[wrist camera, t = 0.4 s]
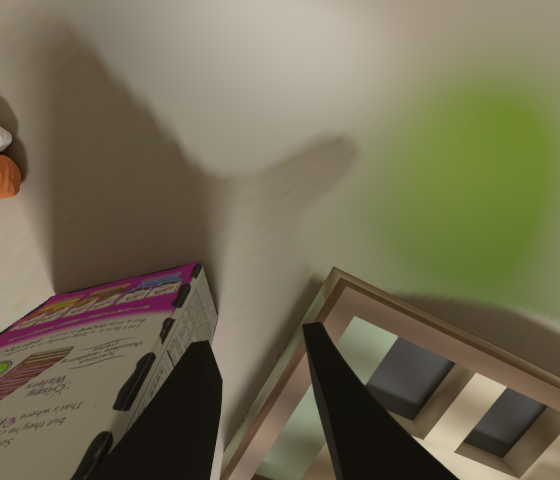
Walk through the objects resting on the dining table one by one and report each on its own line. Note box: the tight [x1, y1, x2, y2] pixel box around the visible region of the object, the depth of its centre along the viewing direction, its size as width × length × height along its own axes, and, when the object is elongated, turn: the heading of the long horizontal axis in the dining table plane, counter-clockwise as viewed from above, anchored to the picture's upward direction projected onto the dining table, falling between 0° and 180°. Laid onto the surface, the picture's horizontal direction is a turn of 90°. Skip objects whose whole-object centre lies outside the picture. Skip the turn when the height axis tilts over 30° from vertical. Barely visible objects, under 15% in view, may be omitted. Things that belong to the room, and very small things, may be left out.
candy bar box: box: [0, 262, 218, 480], centre depth 14 cm, size 11×5×16 cm, turn 103°
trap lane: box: [220, 267, 560, 480], centre depth 24 cm, size 19×34×4 cm, turn 63°
